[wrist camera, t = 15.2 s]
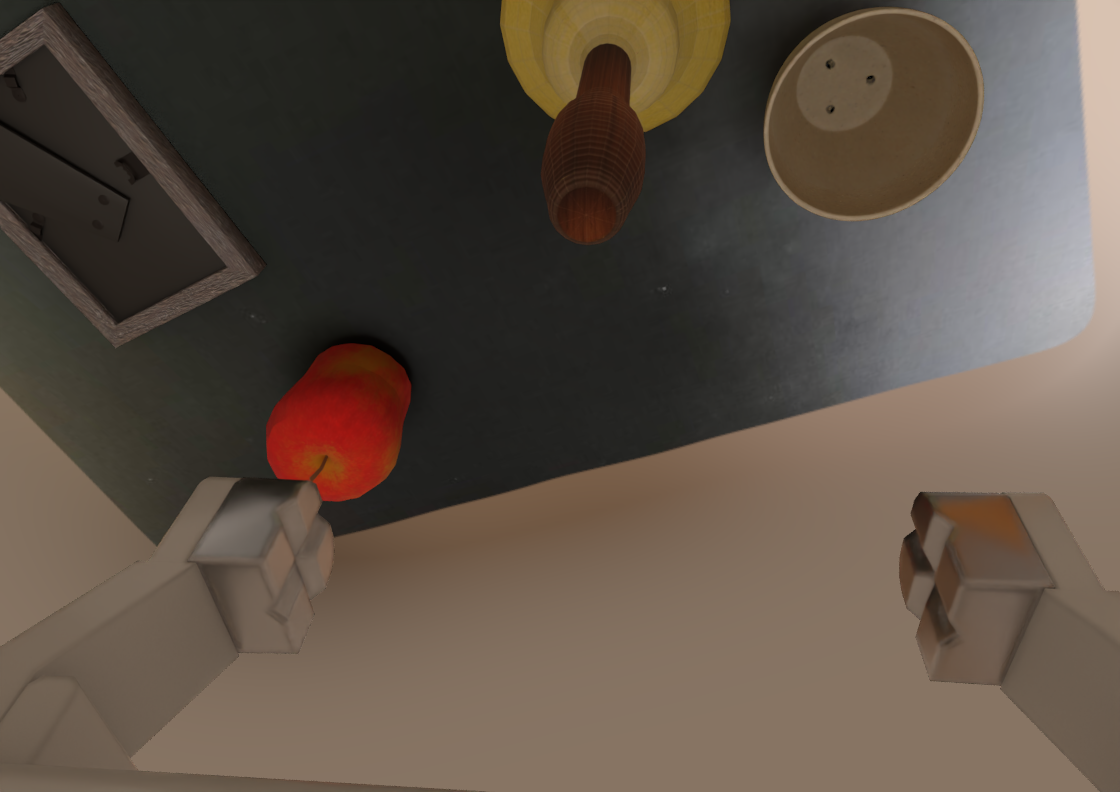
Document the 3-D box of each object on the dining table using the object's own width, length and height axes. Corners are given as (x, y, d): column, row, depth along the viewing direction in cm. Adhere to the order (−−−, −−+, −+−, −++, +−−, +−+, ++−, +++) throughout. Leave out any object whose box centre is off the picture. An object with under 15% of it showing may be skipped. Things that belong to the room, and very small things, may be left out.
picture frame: (-87, 109, 50) (127, 336, 59) (-111, 120, 48) (112, 351, 57) (59, 2, 45) (266, 264, 54) (37, 10, 44) (254, 279, 53)
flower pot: (952, 132, 45) (996, 181, 40) (774, 193, 48) (791, 247, 43) (924, -55, 40) (971, -30, 35) (727, 26, 43) (739, 61, 37)
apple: (366, 435, 62) (316, 549, 53) (284, 359, 59) (215, 468, 49) (448, 384, 59) (411, 496, 49) (366, 300, 55) (308, 405, 46)
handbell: (742, -117, 39) (842, -26, 19) (720, 136, 47) (776, 392, 27) (491, -110, 40) (338, -17, 20) (507, 137, 48) (407, 383, 28)
